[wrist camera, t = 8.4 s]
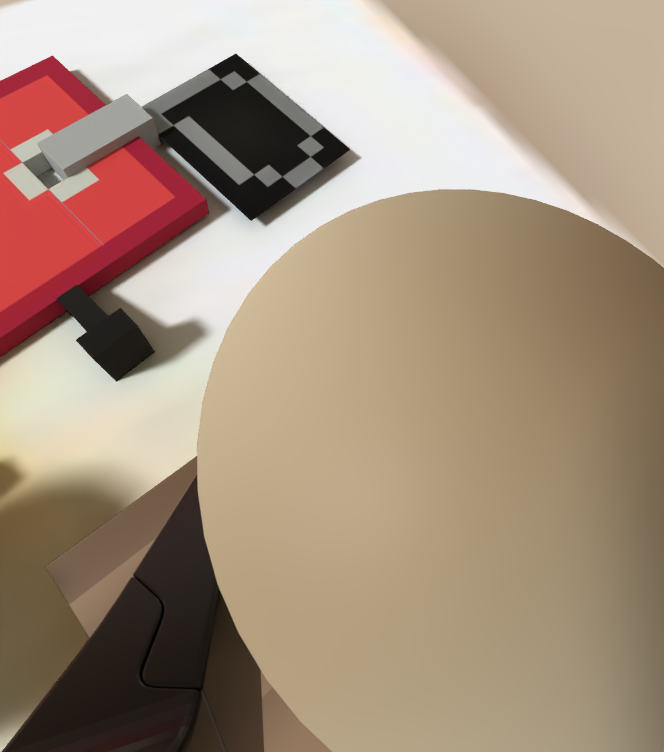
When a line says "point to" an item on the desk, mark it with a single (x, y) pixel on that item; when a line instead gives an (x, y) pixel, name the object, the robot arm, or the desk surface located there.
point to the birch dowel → (447, 479)
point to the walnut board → (116, 566)
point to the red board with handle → (129, 186)
